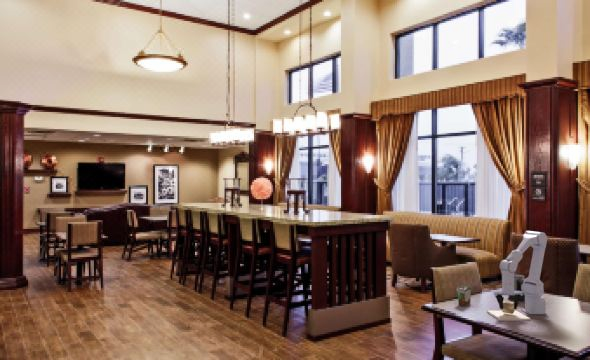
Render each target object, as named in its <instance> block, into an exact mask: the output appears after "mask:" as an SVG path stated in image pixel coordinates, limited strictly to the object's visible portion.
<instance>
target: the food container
mask: <svg viewBox="0 0 590 360" xmlns="http://www.w3.org/2000/svg"><path fill="white" fill-rule="evenodd" d="M456 292H457V301H458V302H457V303H458V306H460V307H463V308H466V307H468V306H469V305H471V296H472V295H471V293H472V286H470V285H458V286H457V288H456Z"/></svg>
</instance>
